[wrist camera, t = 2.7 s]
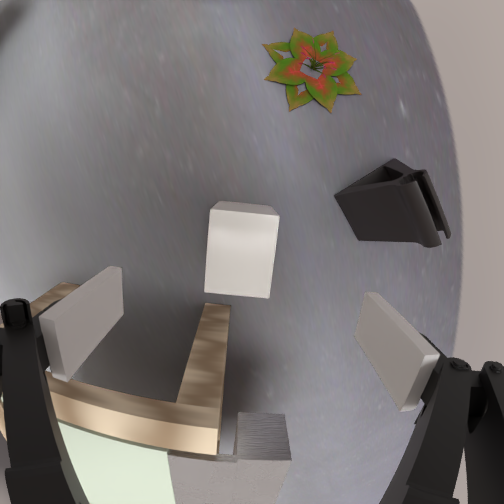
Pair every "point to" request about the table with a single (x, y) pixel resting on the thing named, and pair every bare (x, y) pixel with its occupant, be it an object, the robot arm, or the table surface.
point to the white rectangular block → (241, 249)
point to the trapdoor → (182, 466)
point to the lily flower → (325, 85)
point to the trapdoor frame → (145, 409)
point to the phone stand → (394, 206)
